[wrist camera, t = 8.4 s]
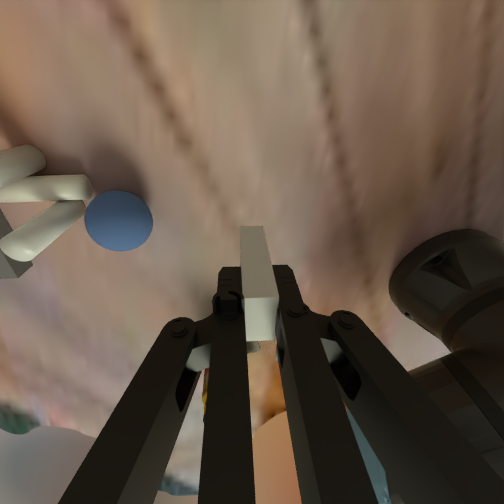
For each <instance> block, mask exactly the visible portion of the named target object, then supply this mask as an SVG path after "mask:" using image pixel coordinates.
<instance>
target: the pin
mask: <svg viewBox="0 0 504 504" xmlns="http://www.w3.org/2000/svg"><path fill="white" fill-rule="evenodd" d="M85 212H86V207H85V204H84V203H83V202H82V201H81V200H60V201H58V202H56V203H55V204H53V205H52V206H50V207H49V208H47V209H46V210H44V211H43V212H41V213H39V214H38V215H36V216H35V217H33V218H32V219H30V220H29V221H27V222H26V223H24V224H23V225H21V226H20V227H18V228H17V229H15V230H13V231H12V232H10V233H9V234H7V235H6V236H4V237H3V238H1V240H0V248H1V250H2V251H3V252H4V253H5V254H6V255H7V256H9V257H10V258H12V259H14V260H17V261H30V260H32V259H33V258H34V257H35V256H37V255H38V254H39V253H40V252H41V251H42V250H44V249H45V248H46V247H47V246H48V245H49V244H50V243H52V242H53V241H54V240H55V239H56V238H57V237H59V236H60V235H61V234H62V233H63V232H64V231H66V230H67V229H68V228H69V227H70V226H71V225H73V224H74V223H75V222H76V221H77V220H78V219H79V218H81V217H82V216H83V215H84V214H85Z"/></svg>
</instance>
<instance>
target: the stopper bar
mask: <svg viewBox="0 0 504 504" xmlns="http://www.w3.org/2000/svg"><path fill="white" fill-rule="evenodd" d="M12 231H13V230H12V229H11V227H10V225H9V224H8V222H7V220H6V218H5V217H4V215H3V213H2V212H1V210H0V240H1V238H3V237H4V236H6V235H7V234H9V233H10V232H12ZM31 266H32V263H31V261H17V260H14V259H12V258H10V257H9V256H7V255H6V254H5V253H4V252H3V251H2V250H1V248H0V279H7V278H19V277H20V276H21V275H22V274H23V273H25V272H26V271H27V270H28V269H29V268H30V267H31Z"/></svg>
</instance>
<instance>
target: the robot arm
mask: <svg viewBox="0 0 504 504" xmlns="http://www.w3.org/2000/svg"><path fill="white" fill-rule="evenodd" d="M389 294H390V297H391V299H392V301H393V303H394V304H395V305H396V306H397V308H398V309H399V310H400V312H401V313H402V314H403V315H405V316H406V317H407V318H409V319H411V320H413V321H414V322H416V323H417V324H418V325H419V326H421V327H422V328H424V329H425V330H427V331H428V332H430V333H431V334H433V335H434V336H436V337H437V338H438V339H440V340H441V341H442V342H443V343H444V345H445V346H446V347H447V348H448V349H449V351H450V352H451V353H450V354H448V355H446V356H444V357H441V358H438V359H436V360H434V361H431V362H429V363H427V364H424V365H422V366H420V367H417V368H415V369H413V370H410V371H408V372H407V371H406V370H405V369H404V367H403V366H402V365H401V364H400V363H399V362H398V361H397V360H396V358H395V357H394V356H393V355H392V354H391V353H390V352H389V350H388V349H387V348H386V347H385V346H384V345H383V344H382V343H381V341H380V340H379V339H378V338H377V337H376V336H375V335H374V333H373V332H372V331H371V330H370V329H369V328H368V327H367V326H366V324H365V323H364V322H363V321H362V320H361V319H360V318H359V317H358V316H357V315H356V314H354V313H352V312H350V311H345V310H338V311H335V312H333V313H332V315H331V316H325V315H321V314H317V313H314V312H312V311H311V310H310V309H309V307H308V306H307V305H306V304H304V302H303V300H302V297H301V294H300V291H299V288H298V285H297V283H296V279H295V276H294V273H293V270H292V269H291V268H290V267H289V266H288V265H272V263H271V259H270V254H269V250H268V246H267V241H266V237H265V232H264V228H263V226H240V267H223V268H222V269H221V270H220V272H219V274H218V286H217V293H216V294H215V295H214V297H213V299H212V304H213V313H212V314H211V315H210V316H209V317H207V318H205V319H203V320H200V321H196V322H194V321H193V320H191V319H189V318H186V317H179V318H176V319H173V320H171V321H169V322H168V323H167V324H166V325H165V326H164V327H163V329H162V331H161V332H160V334H159V336H158V337H157V339H156V341H155V342H154V344H153V346H152V347H151V349H150V351H149V352H148V354H147V356H146V357H145V359H144V361H143V362H142V364H141V366H140V367H139V369H138V371H137V372H136V374H135V376H134V377H133V379H132V381H131V382H130V384H129V386H128V387H127V389H126V391H125V392H124V394H123V396H122V397H121V399H120V401H119V402H118V404H117V406H116V407H115V409H114V411H113V412H112V414H111V416H110V417H109V419H108V421H107V422H106V424H105V426H104V427H103V429H102V431H101V432H100V434H99V436H98V437H97V439H96V441H95V442H94V444H93V446H92V447H91V449H90V451H89V452H88V454H87V456H86V458H85V459H84V461H83V462H82V464H81V466H80V468H79V469H78V471H77V473H76V474H75V476H74V478H73V479H72V481H71V482H70V484H69V486H68V487H67V489H66V491H65V492H64V494H63V496H62V497H61V499H60V501H59V502H58V504H153V502H154V500H155V497H156V494H157V491H158V489H159V486H160V483H161V481H162V478H163V475H164V472H165V470H166V467H167V464H168V462H169V459H170V456H171V453H172V451H173V448H174V445H175V442H176V440H177V437H178V434H179V432H180V429H181V426H182V423H183V421H184V418H185V415H186V412H187V410H188V407H189V404H190V402H191V399H192V396H193V393H194V391H195V388H196V385H197V383H198V380H199V377H200V374H201V372H202V370H203V369H206V368H208V367H209V375H208V387H207V398H206V410H205V422H204V434H203V446H202V458H201V470H200V482H199V493H198V504H256V503H255V485H254V468H253V450H252V432H251V414H250V397H249V379H248V362H247V344H246V341H262V340H275V335H276V339H277V348H276V359H275V361H278V363H279V369H280V375H281V381H282V387H283V393H284V399H285V405H286V411H287V417H288V423H289V429H290V434H291V441H292V447H293V453H294V459H295V465H296V471H297V477H298V483H299V489H300V495H301V501H302V504H504V243H502V242H501V241H499V240H497V239H496V238H494V237H492V236H490V235H489V234H487V233H485V232H482V231H479V230H471V229H465V230H457V231H452V232H448V233H445V234H442V235H440V236H437V237H435V238H433V239H431V240H429V241H427V242H425V243H424V244H422V245H420V246H419V247H418V248H416V249H415V250H414V251H412V252H411V253H410V254H409V255H408V256H407V257H406V258H405V259H404V260H403V261H402V262H401V263H400V265H399V266H398V267H397V269H396V270H395V272H394V274H393V276H392V278H391V281H390V286H389ZM341 397H342V398H341ZM342 399H343V401H344V402H345V404H346V406H347V411H346V409H345V406H344V403H343V401H342Z"/></svg>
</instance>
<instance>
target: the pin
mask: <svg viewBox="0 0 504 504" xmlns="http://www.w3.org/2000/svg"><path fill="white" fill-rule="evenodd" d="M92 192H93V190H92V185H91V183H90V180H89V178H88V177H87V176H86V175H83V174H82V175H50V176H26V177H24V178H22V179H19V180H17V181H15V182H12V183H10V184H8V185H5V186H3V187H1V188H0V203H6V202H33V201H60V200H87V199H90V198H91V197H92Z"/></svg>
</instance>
